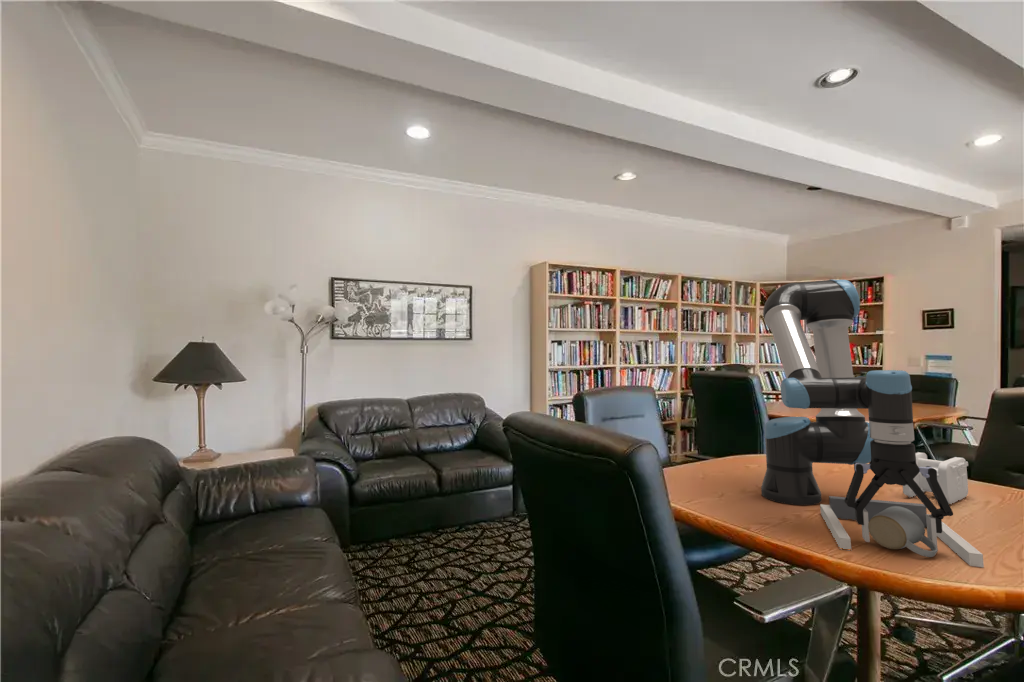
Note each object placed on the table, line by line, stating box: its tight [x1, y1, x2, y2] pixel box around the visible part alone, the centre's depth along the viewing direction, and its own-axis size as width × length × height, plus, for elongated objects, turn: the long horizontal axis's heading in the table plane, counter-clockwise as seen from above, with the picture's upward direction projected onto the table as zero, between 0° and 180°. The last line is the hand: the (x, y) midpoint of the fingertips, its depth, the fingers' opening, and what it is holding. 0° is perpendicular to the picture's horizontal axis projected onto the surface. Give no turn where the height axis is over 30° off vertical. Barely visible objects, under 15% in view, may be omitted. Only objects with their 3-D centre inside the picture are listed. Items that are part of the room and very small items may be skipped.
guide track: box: [819, 495, 985, 568], centre depth 104 cm, size 23×24×5 cm
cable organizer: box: [902, 451, 969, 505], centre depth 129 cm, size 15×11×12 cm
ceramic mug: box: [868, 506, 939, 558], centre depth 97 cm, size 11×8×8 cm
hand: (898, 543), depth 98 cm, fingers closed on ceramic mug, 11 cm apart
